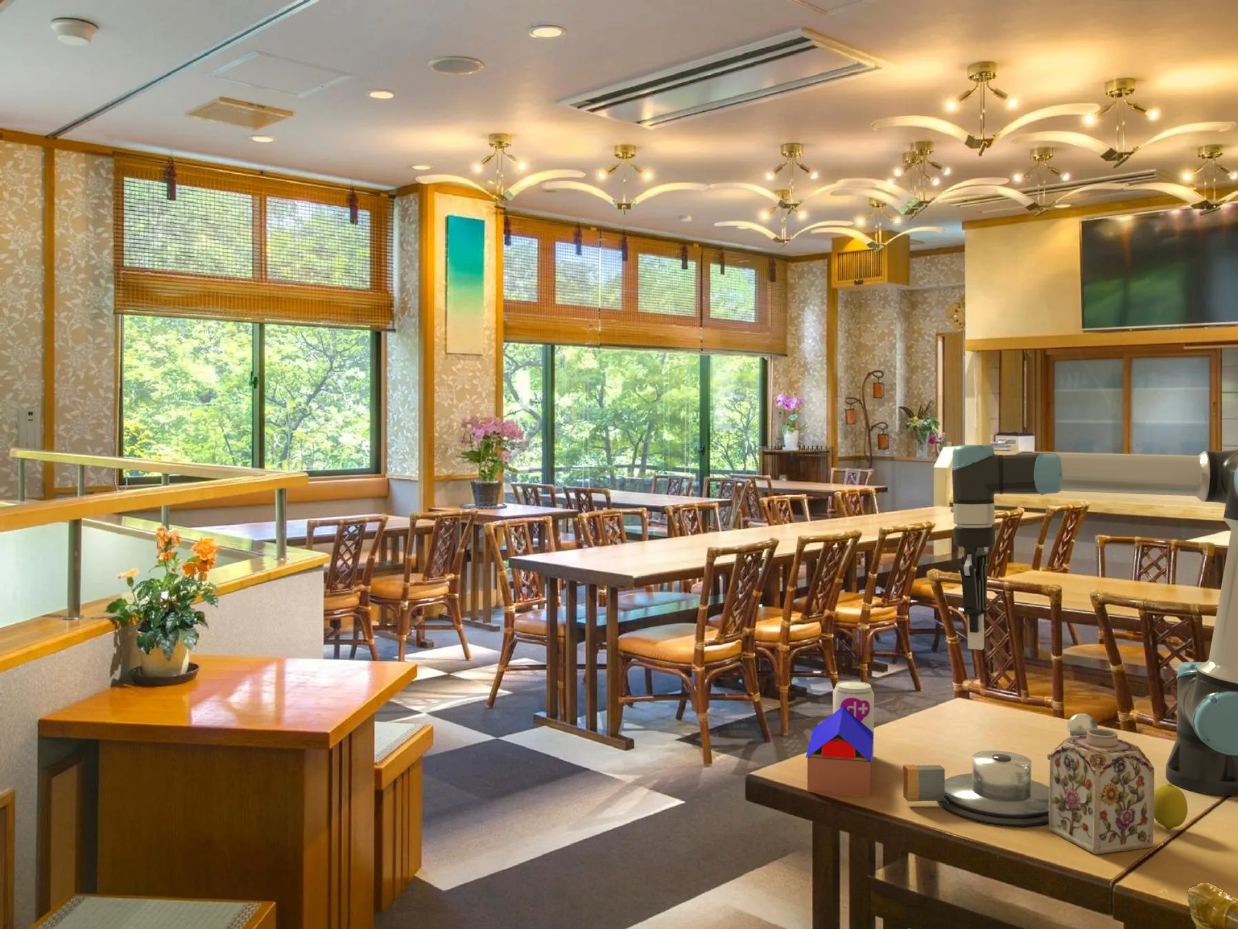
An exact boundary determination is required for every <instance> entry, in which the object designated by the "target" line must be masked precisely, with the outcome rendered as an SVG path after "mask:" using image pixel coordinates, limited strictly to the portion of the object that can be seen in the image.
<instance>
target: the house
mask: <svg viewBox="0 0 1238 929" xmlns="http://www.w3.org/2000/svg"><path fill="white" fill-rule="evenodd" d="M872 748H873V732H872V731H871V730H870V729H869V728H868V727H866V726H865V725H864V724H863V723H862V722H861V721H859V720H858V719H857V718H856V717H855V716H853V715H852V714H851V713H850V712H849V711H848V710H847V709H846V708H845V707H844V706H843V707H842V708H840V709H839V710H838V711H836V712H835V713H834V714H833V713H832V714H831V715H830V716H828V717H826V718H825V719H824V720H823V721H822V722H820V723H819V724H818V725H816V726H815V727H814V728H812V733H811V736H810V739H809V744H808V747H807V751H806V755H805V759H807V765H806V766H807V767H806V768H807V773H806V774H807V777H806V778H807V780H806V782H807V785H806V786H807V788H806V789H807V790H806V791H807V793H810V792H811V793H820V794H833V795H841V796H843V795H844V796H856V797H870V796H871V795H870V794H871V781H872V780H871V777H872V764H873V763H872V761H873V759H872V758H873V757H872ZM870 780H871V781H870Z"/></svg>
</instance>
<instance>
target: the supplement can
mask: <svg viewBox="0 0 1238 929" xmlns="http://www.w3.org/2000/svg"><path fill="white" fill-rule="evenodd" d="M843 706H844V707H845V708H846V709H847V710H848V711H849V712H850V713H851V714H852V715H853V716H855V717H856V718H857V719H858V720H859V721H861V722H862V723H863V724H864V725H865V726H866V727H868V728H869V729H870V730H871V731H872V732H873V748H872V758H873V756H874V753H875V752H874V745H875V744H874V743H875V742H874V739H875V737H874V736H875V735H874V734H875V732H874V731H875V725H874V723H875V720H874V718H875V716H874V715H875V693H874V691H873V689H872V685H871V684H870V683H867V682H864V681H859V680H858V681H857V680H843V681H839V682H836V684H835V687H834V689H833V690H832V714H834V713H835V712H836V711H838V710H839V709H840V708H842V707H843Z"/></svg>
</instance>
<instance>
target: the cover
mask: <svg viewBox="0 0 1238 929" xmlns="http://www.w3.org/2000/svg"><path fill="white" fill-rule="evenodd" d="M971 758H972V760H971V761H972V762H971V764H972V765H971V766H972V767H971V768H972V769H971V773H972V790H973V792H974V793H976V794H977V795H979V796H982V797H984V798H988V799H992V800H997V801H1008V802H1014V801H1023V800H1026V799H1029V798H1030V797H1031V780H1032V760H1031V758H1029V757H1027V756H1025V755H1023V754H1019V753H1016V752H1011V751H1007V750H1006V751H1004V750H983V751H982V750H981V751H976V752H975V753H973V754H972V757H971Z"/></svg>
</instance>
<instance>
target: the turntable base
mask: <svg viewBox="0 0 1238 929" xmlns="http://www.w3.org/2000/svg"><path fill="white" fill-rule="evenodd" d="M936 804H937V805H938V806H939V807H940V808H941V809H943V810H944V811H946V812H948V813H949V814H952V815H954V816H956V817H959V818H961V819H964V820H967V821H971V822H975V823H979V824H985V825H988V826H989V825H991V826H997V827H1004V828H1038V827H1044V826H1049V814H1047V815H1043V816H1038V817H1027V818H1012V817H999V816H992V815H986V814H981V813H977V812H973V811H969V810H966V809H963V808H961V807H958V806H956V805H954V804H952V803H950V802H949V801H947V800H946V799H945V800H944V801H936Z"/></svg>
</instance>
